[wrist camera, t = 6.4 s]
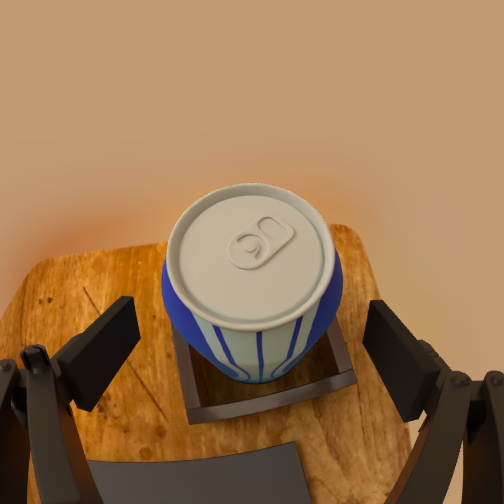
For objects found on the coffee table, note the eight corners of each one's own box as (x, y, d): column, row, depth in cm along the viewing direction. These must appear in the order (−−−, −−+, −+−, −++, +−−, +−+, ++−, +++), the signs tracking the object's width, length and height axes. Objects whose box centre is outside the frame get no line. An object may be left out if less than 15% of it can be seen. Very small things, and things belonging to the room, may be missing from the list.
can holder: (343, 386, 22) (358, 382, 19) (199, 421, 21) (189, 424, 17) (302, 262, 28) (308, 240, 25) (176, 290, 27) (164, 272, 24)
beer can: (307, 379, 23) (380, 338, 9) (211, 387, 22) (137, 360, 9) (295, 291, 27) (329, 164, 13) (207, 299, 27) (155, 178, 13)
